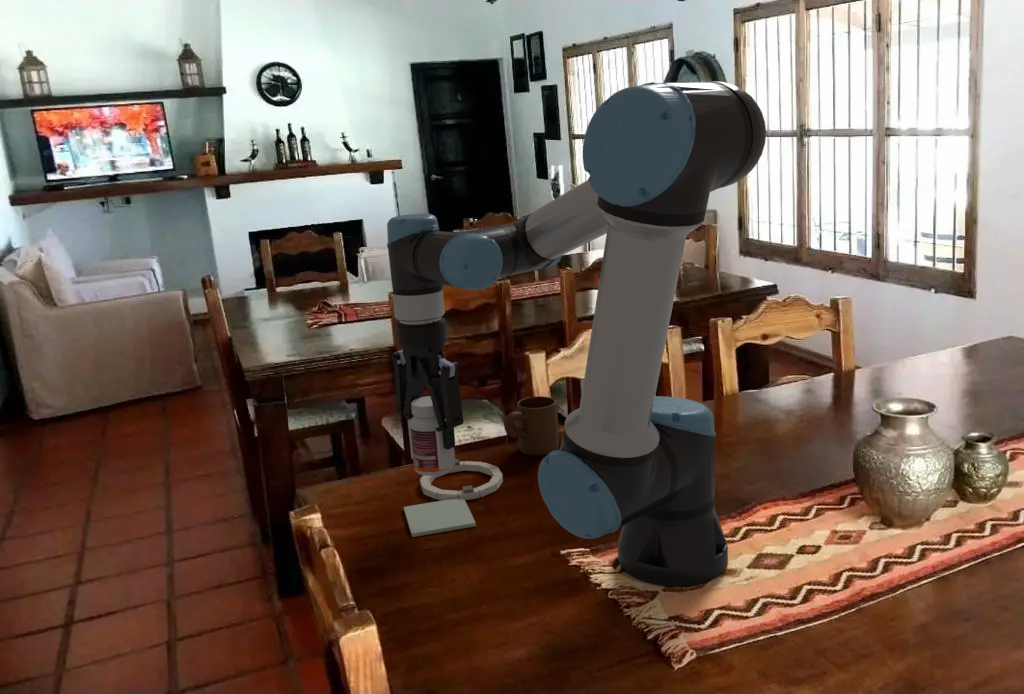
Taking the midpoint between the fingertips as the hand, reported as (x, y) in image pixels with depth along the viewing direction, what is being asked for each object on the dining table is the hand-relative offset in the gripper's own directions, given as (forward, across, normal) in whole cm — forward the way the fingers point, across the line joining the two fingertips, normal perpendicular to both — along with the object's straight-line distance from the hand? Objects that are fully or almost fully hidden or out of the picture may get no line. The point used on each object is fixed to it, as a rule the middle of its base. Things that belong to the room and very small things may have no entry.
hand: (433, 461), depth 136 cm
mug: (+10, +8, -29) cm, 31 cm away
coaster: (+10, 0, 0) cm, 10 cm away
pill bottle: (+2, 0, 0) cm, 2 cm away
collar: (+10, +7, -11) cm, 17 cm away
